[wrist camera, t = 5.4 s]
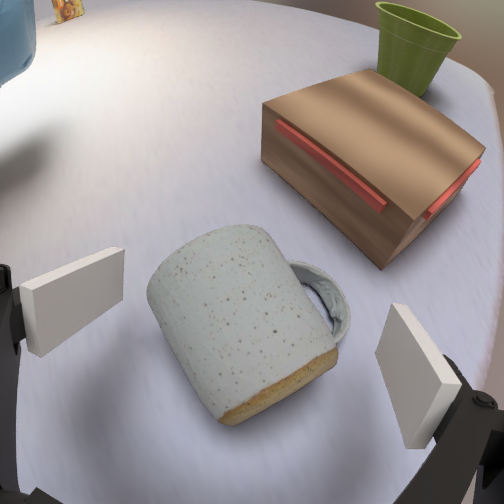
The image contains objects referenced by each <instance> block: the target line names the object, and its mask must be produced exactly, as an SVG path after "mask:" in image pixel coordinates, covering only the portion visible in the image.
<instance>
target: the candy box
mask: <svg viewBox="0 0 504 504" xmlns="http://www.w3.org/2000/svg"><path fill="white" fill-rule="evenodd" d="M52 3H53V7H54V11H55V15H56V19H57V22H58V24H60V23H62V22H65V21H67V20H70V19H72V18H75V17H78V16H80V15H83V14H84V8H83V3H82V0H52Z"/></svg>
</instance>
